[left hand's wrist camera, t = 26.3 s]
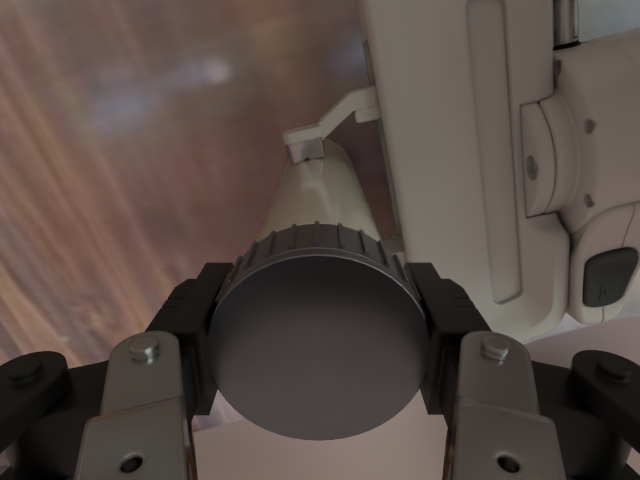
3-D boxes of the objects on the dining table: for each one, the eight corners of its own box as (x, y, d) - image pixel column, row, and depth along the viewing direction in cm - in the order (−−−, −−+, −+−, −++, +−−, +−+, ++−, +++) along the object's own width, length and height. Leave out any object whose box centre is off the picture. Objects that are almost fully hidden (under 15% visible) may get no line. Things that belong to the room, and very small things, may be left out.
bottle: (343, 211, 28) (381, 416, 11) (279, 197, 28) (215, 387, 11) (360, 146, 27) (435, 269, 9) (292, 130, 26) (242, 229, 9)
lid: (272, 409, 12) (263, 467, 10) (185, 264, 10) (157, 302, 9) (439, 354, 11) (461, 406, 10) (377, 187, 10) (390, 212, 8)
